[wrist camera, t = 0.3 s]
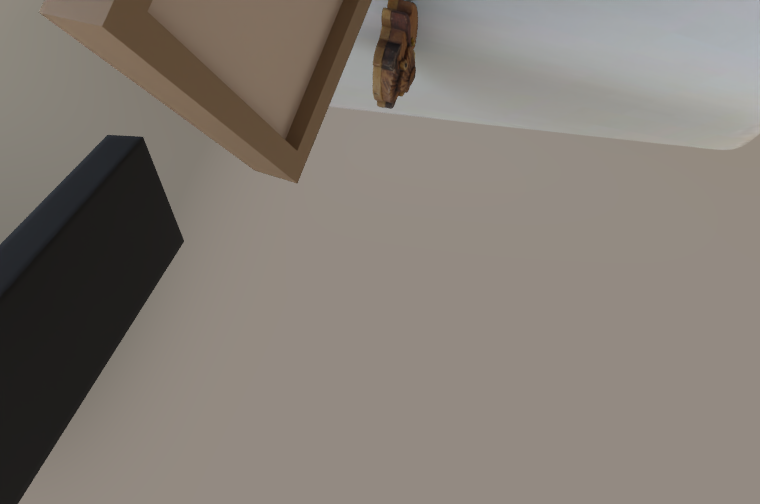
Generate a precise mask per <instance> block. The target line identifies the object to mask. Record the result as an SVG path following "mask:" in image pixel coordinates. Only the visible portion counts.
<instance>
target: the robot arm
mask: <svg viewBox="0 0 760 504" xmlns="http://www.w3.org/2000/svg"><path fill="white" fill-rule="evenodd" d="M183 242H184V240H183V237H182V235H181V232H180V230H179V227H178V225H177V222H176V220H175V217H174V215H173V212H172V209H171V207H170V204H169V202H168V199H167V197H166V194H165V192H164V189H163V187H162V184H161V181H160V179H159V176H158V174H157V171H156V169H155V166H154V164H153V161H152V159H151V156H150V154H149V151H148V148H147V146H146V144H145V141H144V138H143V137H135V136H116V135H107V136H106V137H105V138H104V139H103V140H102V141H101V142H100V143H99V144H98V145H97V146H96V147H95V148H94V149H93V151H92V152H91V153H90V154H89V155H88V156H87V157H86V158H85V159H84V160H83V161H82V162H81V163H80V164H79V165H78V166H77V167H76V168H75V169H74V170H73V171H72V172H71V173H70V174H69V175H68V176H67V177H66V178H65V179H64V180H63V181H62V182H61V183H60V184H59V185H58V186H57V187H56V188H55V189H54V190H53V191H52V192H51V193H50V194H49V195H48V196H47V197H46V198H45V199H44V200H43V201H42V203H41V204H40V205H39V206H38V207H37V208H36V209H35V210H34V211H33V212H32V213H31V214H30V215H29V216H28V217H27V218H26V219H25V220H24V221H23V222H22V223H21V224H20V225H19V226H18V227H17V228H16V229H15V230H14V231H13V232H12V233H11V234H10V235H9V236H8V237H7V238H6V239H5V240H4V241H3V242H2V243H1V245H0V504H18V503H19V501H20V499H21V498H22V496H23V495H24V493H25V492H26V490H27V488H28V487H29V485H30V484H31V482H32V481H33V479H34V477H35V476H36V474H37V473H38V471H39V470H40V468H41V466H42V465H43V463H44V462H45V460H46V458H47V457H48V455H49V454H50V452H51V451H52V449H53V447H54V446H55V444H56V443H57V441H58V440H59V438H60V436H61V435H62V433H63V432H64V430H65V428H66V427H67V425H68V424H69V422H70V420H71V419H72V417H73V416H74V414H75V413H76V411H77V409H78V408H79V406H80V405H81V403H82V401H83V400H84V398H85V397H86V395H87V393H88V392H89V391H90V389H91V387H92V386H93V384H94V383H95V381H96V380H97V378H98V376H99V375H100V373H101V372H102V370H103V368H104V367H105V365H106V364H107V362H108V361H109V359H110V357H111V356H112V354H113V353H114V351H115V349H116V348H117V346H118V345H119V343H120V342H121V340H122V338H123V337H124V335H125V333H126V332H127V330H128V329H129V327H130V326H131V324H132V323H133V321H134V320H135V318H136V316H137V315H138V313H139V312H140V310H141V308H142V307H143V305H144V304H145V302H146V301H147V299H148V297H149V296H150V294H151V293H152V291H153V290H154V288H155V286H156V285H157V283H158V282H159V280H160V278H161V277H162V275H163V273H164V272H165V271H166V269H167V267H168V266H169V264H170V263H171V261H172V260H173V258H174V256H175V255H176V253H177V252H178V250H179V248H180V247H181V245H182V244H183Z"/></svg>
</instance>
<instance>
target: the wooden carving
mask: <svg viewBox="0 0 760 504" xmlns="http://www.w3.org/2000/svg"><path fill="white" fill-rule="evenodd" d="M417 16H418V12H417V7H416V5H415V4H414V3H412V2H409V1H403V0H388V8H383V11H382V29H381V34H380V38H379V41H378V43H377V46H376V50H375V54H374V60H373V65H374V67H373V95H374V99H375V100H377V105H378V106H379V107H386V108H390V109H391V108H393V107H394V104H395V102H396V99H397V97H398V96H403V95H404V93H405V92H406V93H407V92H408V90H409V87H410V85H411V84H412V82H413V80H414V78H415V72H416V68H415V52H414V50H413V49H414V47H415V43H416V37H417V29H418V28H417V27H418V17H417Z"/></svg>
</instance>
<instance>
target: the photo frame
mask: <svg viewBox="0 0 760 504" xmlns="http://www.w3.org/2000/svg"><path fill="white" fill-rule="evenodd" d="M371 1H372V0H45V1H44V3H43V5H42V7H41V9H40V11H39V13H40V14H42V15H43V16H45V17H46V18H47V19H49V20H50V21H51V22H53V23H54V24H55V25H57V26H58V27H59V28H61V29H62V30H64V31H65V32H66V33H68V34H69V35H70V36H72V37H73V38H74V39H76V40H77V41H79V42H80V43H81V44H83V45H84V46H85V47H87V48H88V49H89V50H91V51H92V52H94V53H95V54H96V55H98V56H99V57H100V58H102V59H103V60H105V61H106V62H108V63H109V64H110V65H111V66H113V67H114V68H115V69H117V70H118V71H120V72H121V73H122V74H124V75H125V76H127V77H128V78H129V79H131V80H132V81H133V82H135V83H136V84H137V85H139V86H140V87H142V88H143V89H144V90H146V91H147V92H148V93H150V94H151V95H152V96H154V97H155V98H156V99H158V100H159V101H161V102H162V103H163V104H165V105H166V106H167V107H169V108H170V109H172V110H173V111H174V112H176V113H177V114H178V115H180V116H181V117H183V118H184V119H185V120H187V121H188V122H189V123H191V124H192V125H193V126H195V127H196V128H197V129H199V130H200V131H202V132H203V133H204V134H206V135H207V136H208V137H210V138H211V139H213V140H214V141H215V142H217V143H218V144H219V145H221V146H222V147H224V148H225V149H226V150H228V151H229V152H230V153H232V154H233V155H235V156H236V157H237V158H239V159H240V160H241V161H243V162H244V163H245V164H247V165H248V166H249V167H251V168H252V169H254V170H255V171H258V172H262V173H265V174H268V175H271V176H275V177H278V178H282V179H285V180H288V181H291V182H294V183H298V180H299V178H300V176H301V173H302V170H303V168H304V166H305V163H306V161H307V158H308V156H309V153H310V151H311V148H312V146H313V144H314V141H315V139H316V136H317V134H318V131H319V129H320V126H321V124H322V121H323V119H324V117H325V114H326V112H327V109H328V107H329V104H330V102H331V99H332V97H333V94H334V92H335V90H336V87H337V85H338V82H339V80H340V77H341V75H342V72H343V70H344V67H345V65H346V62H347V60H348V58H349V55H350V53H351V50H352V48H353V45H354V43H355V40H356V38H357V35H358V33H359V31H360V28H361V26H362V23H363V21H364V18H365V16H366V13H367V11H368V8H369V6H370V4H371Z"/></svg>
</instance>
